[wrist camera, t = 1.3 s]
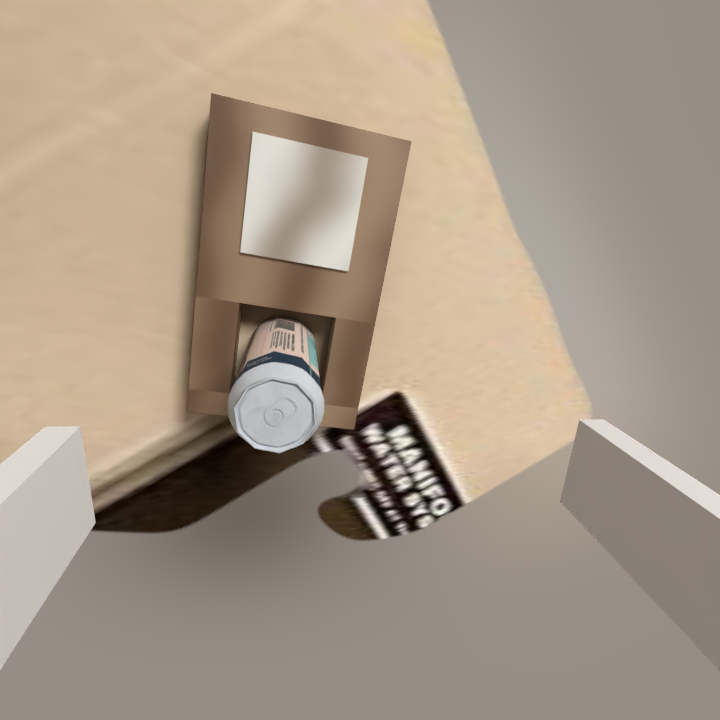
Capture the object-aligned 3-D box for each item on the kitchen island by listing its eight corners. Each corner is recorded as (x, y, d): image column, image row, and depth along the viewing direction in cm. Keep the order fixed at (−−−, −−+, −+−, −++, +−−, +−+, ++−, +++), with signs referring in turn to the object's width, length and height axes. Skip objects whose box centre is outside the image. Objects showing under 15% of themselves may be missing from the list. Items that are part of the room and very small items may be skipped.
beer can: (236, 343, 31) (202, 412, 20) (286, 302, 31) (280, 348, 20) (280, 389, 33) (271, 477, 21) (328, 350, 32) (345, 420, 21)
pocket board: (193, 399, 32) (186, 413, 30) (218, 103, 26) (210, 92, 24) (350, 416, 34) (354, 430, 32) (403, 147, 29) (412, 141, 26)
